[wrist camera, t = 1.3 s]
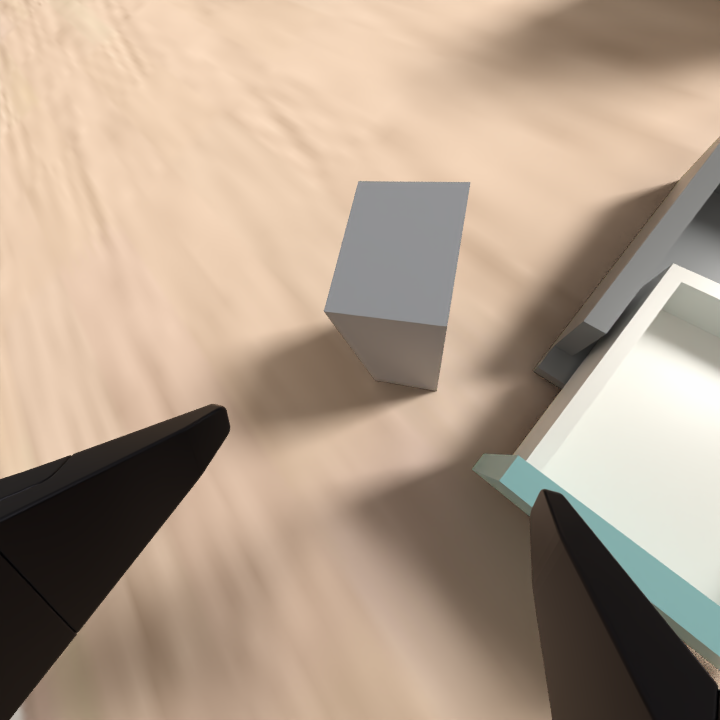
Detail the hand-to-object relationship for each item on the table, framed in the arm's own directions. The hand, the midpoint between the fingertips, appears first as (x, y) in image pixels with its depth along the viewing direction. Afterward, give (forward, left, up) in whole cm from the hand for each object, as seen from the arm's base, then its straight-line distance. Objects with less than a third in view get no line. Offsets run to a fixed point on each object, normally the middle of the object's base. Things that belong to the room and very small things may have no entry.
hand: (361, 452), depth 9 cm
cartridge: (+4, +7, -13) cm, 15 cm away
